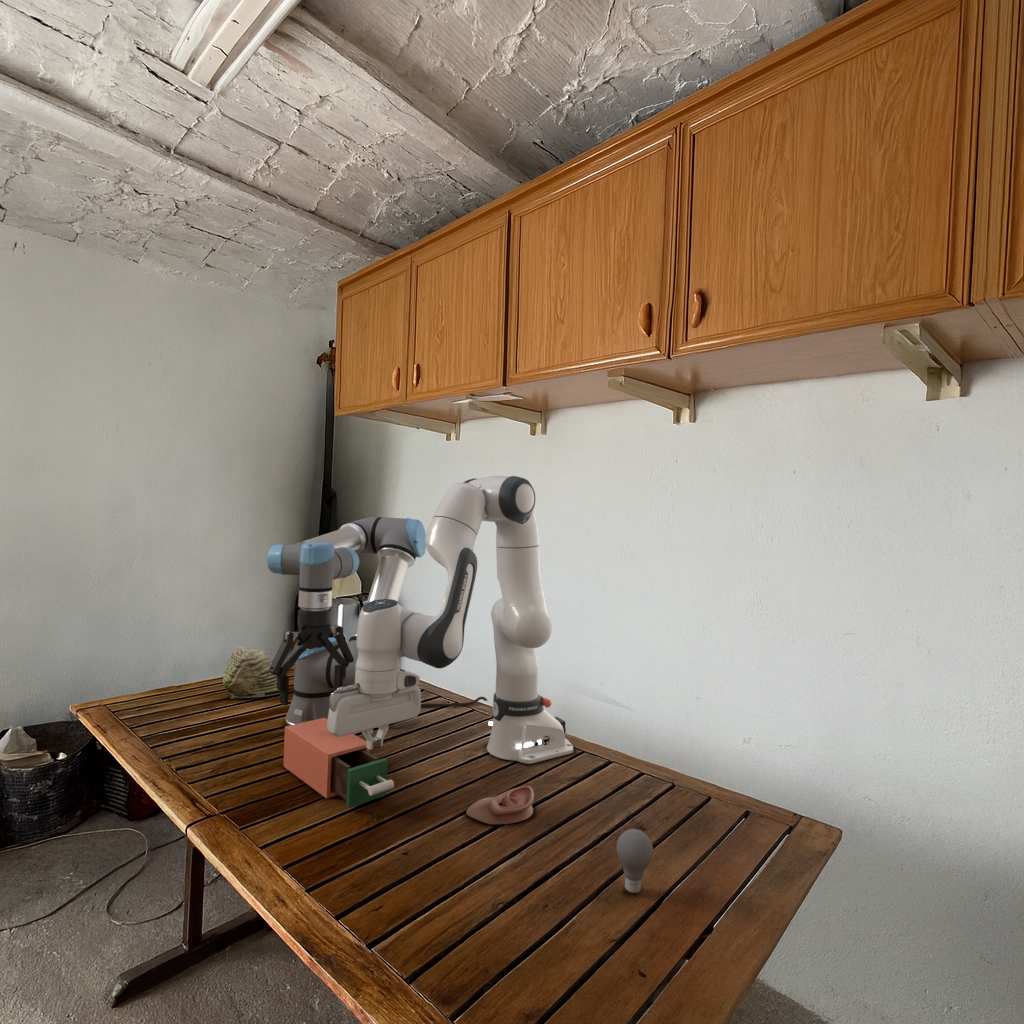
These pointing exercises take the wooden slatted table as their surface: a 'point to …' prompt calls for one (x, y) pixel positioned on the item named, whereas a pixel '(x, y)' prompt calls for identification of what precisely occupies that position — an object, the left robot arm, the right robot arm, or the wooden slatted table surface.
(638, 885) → the light bulb
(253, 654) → the fossil
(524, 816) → the anatomical model
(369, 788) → the drawer
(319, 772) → the cabinet
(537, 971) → the wooden slatted table surface
